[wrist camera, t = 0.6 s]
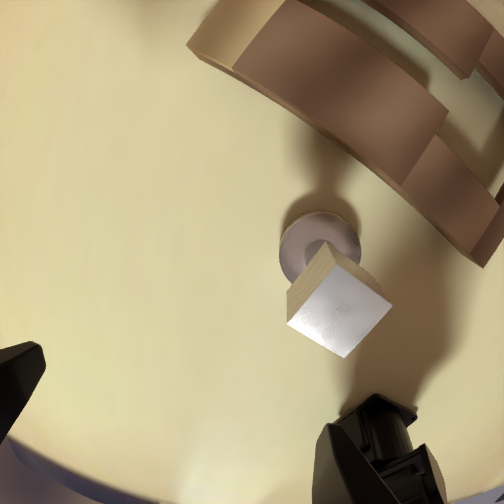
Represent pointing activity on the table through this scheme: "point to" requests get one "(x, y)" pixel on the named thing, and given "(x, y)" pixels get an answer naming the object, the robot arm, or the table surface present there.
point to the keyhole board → (371, 96)
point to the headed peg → (329, 282)
